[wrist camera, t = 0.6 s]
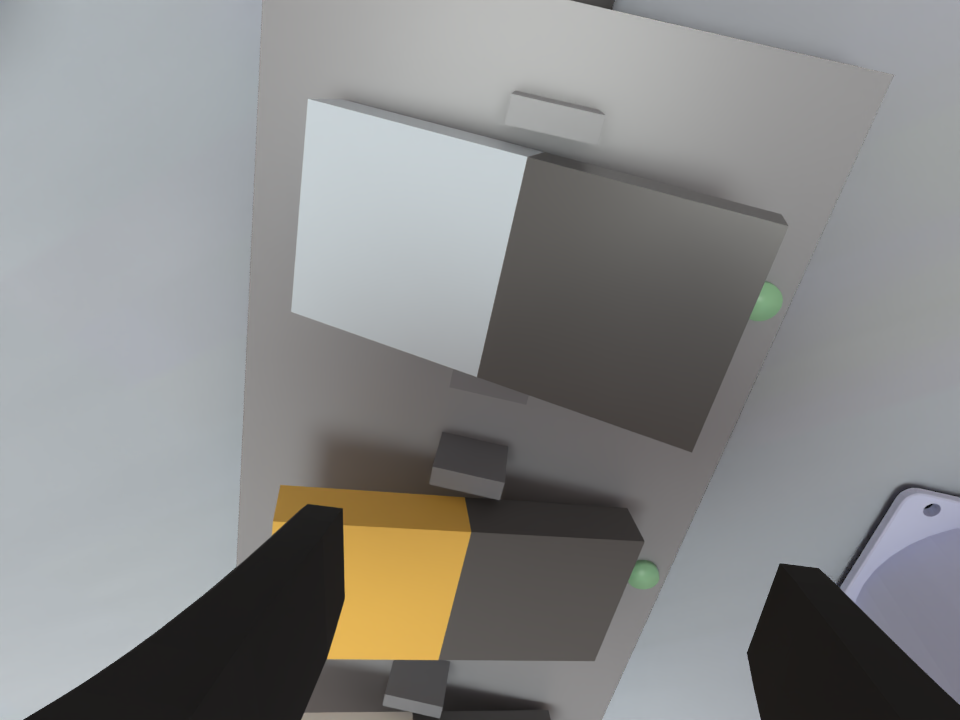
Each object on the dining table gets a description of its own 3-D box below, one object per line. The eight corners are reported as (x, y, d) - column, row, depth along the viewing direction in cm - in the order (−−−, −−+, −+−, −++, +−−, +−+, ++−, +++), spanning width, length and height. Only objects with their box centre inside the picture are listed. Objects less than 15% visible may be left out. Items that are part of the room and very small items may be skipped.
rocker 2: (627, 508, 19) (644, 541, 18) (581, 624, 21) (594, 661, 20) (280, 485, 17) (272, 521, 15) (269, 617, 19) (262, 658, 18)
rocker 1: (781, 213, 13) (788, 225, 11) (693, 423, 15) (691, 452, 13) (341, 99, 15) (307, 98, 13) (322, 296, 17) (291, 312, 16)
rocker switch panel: (939, -151, 14) (1090, -232, 10) (549, 774, 29) (549, 884, 25) (322, -293, 14) (236, -432, 10) (252, 707, 29) (206, 807, 25)
